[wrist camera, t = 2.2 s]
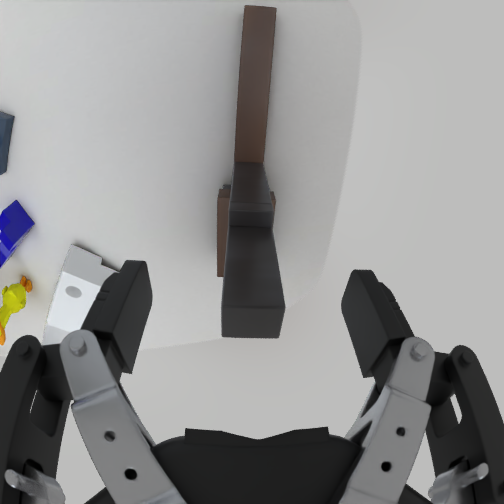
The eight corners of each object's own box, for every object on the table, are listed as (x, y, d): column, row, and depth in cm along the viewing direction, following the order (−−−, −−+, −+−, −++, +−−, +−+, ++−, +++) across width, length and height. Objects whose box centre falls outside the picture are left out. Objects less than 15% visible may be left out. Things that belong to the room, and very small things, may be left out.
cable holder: (16, 199, 21) (-6, 218, 17) (34, 223, 22) (13, 244, 19) (-5, 235, 23) (-23, 254, 19) (11, 255, 24) (-6, 276, 21)
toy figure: (35, 304, 29) (-2, 372, 19) (17, 292, 28) (-23, 356, 18) (38, 274, 26) (-10, 349, 16) (17, 260, 25) (-33, 330, 15)
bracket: (95, 326, 32) (91, 377, 27) (48, 309, 28) (38, 361, 23) (132, 270, 27) (128, 333, 22) (71, 244, 23) (53, 307, 18)
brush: (287, 15, 14) (370, -83, 2) (264, 257, 25) (279, 412, 13) (230, 11, 14) (203, -105, 2) (219, 255, 25) (205, 411, 13)
